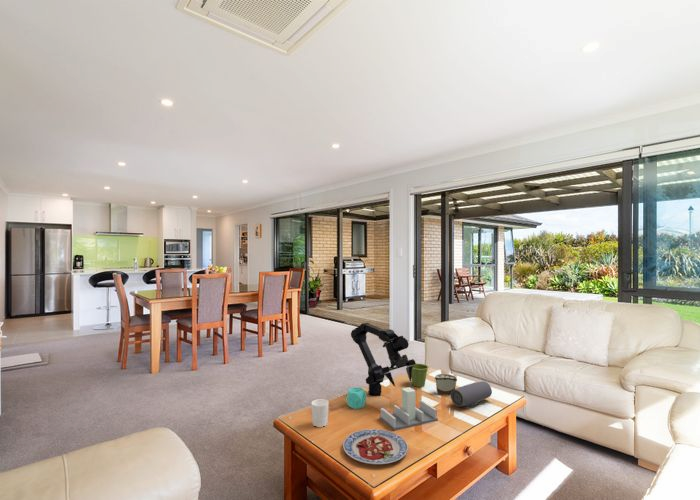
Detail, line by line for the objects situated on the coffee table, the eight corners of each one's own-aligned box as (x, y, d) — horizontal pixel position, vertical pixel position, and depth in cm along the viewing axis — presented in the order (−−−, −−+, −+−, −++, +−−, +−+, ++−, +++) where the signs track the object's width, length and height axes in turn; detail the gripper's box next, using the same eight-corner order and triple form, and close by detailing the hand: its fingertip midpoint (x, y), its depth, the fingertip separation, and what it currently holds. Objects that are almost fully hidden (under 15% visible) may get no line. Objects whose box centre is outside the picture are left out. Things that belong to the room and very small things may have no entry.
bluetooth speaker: (478, 396, 197) (478, 378, 197) (492, 402, 189) (492, 383, 190) (449, 405, 185) (449, 385, 185) (464, 411, 177) (464, 391, 177)
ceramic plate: (334, 440, 150) (334, 433, 150) (388, 429, 159) (388, 423, 159) (358, 476, 126) (358, 467, 126) (420, 460, 135) (420, 452, 135)
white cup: (331, 422, 166) (331, 400, 166) (324, 429, 158) (324, 407, 159) (315, 419, 168) (315, 398, 169) (308, 426, 161) (308, 404, 161)
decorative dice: (346, 407, 182) (346, 391, 182) (351, 401, 189) (352, 386, 189) (361, 409, 179) (361, 394, 179) (366, 403, 187) (366, 388, 187)
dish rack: (379, 418, 170) (379, 407, 170) (421, 409, 180) (421, 399, 180) (393, 430, 158) (394, 419, 158) (437, 420, 168) (437, 409, 168)
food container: (455, 391, 204) (455, 374, 204) (457, 395, 198) (457, 377, 198) (433, 390, 205) (433, 373, 205) (434, 394, 199) (434, 376, 199)
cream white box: (407, 420, 166) (407, 392, 166) (401, 416, 170) (401, 388, 170) (415, 418, 167) (415, 390, 168) (409, 414, 172) (409, 387, 172)
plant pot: (432, 384, 214) (432, 366, 214) (421, 390, 205) (421, 370, 206) (415, 380, 222) (415, 362, 222) (404, 385, 214) (404, 366, 214)
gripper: (380, 355, 179) (390, 387, 173) (414, 346, 184) (424, 377, 178) (375, 358, 189) (384, 389, 183) (407, 349, 194) (417, 379, 188)
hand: (402, 383), depth 183 cm, fingers open, 9 cm apart
